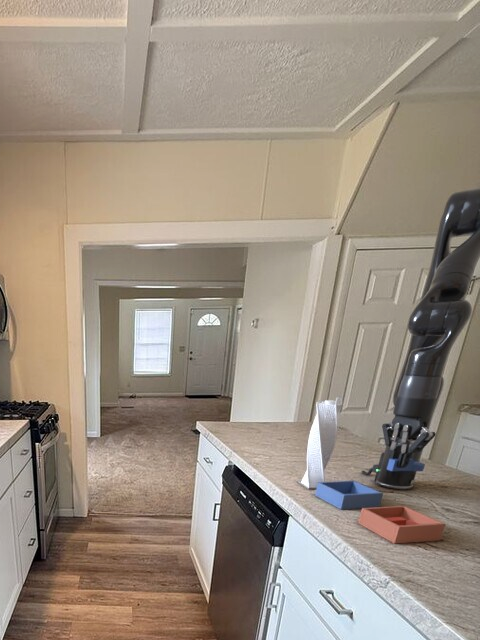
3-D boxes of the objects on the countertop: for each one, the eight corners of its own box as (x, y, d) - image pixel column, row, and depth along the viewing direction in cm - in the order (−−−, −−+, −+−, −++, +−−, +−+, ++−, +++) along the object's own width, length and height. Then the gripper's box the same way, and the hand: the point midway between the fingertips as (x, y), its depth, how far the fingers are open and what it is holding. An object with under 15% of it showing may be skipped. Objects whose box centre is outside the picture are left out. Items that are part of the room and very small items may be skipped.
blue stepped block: (394, 472, 100) (398, 461, 99) (383, 468, 103) (386, 457, 102) (426, 471, 101) (430, 460, 100) (414, 467, 104) (417, 456, 103)
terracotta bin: (358, 523, 100) (361, 508, 99) (399, 520, 101) (404, 505, 100) (394, 543, 90) (399, 526, 88) (440, 540, 91) (446, 523, 89)
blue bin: (315, 495, 119) (317, 482, 118) (350, 493, 121) (353, 480, 119) (340, 509, 109) (344, 495, 107) (379, 507, 110) (383, 493, 108)
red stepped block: (384, 533, 93) (388, 522, 92) (373, 527, 96) (376, 516, 95) (419, 531, 94) (423, 520, 93) (407, 525, 97) (410, 514, 96)
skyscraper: (333, 490, 123) (354, 396, 112) (307, 490, 123) (325, 396, 113) (319, 482, 131) (338, 393, 120) (294, 482, 131) (311, 393, 120)
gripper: (459, 398, 89) (435, 473, 96) (406, 392, 102) (388, 458, 108) (428, 399, 88) (406, 474, 95) (380, 392, 101) (363, 459, 107)
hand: (397, 465), depth 101 cm, fingers closed on blue stepped block, 2 cm apart
